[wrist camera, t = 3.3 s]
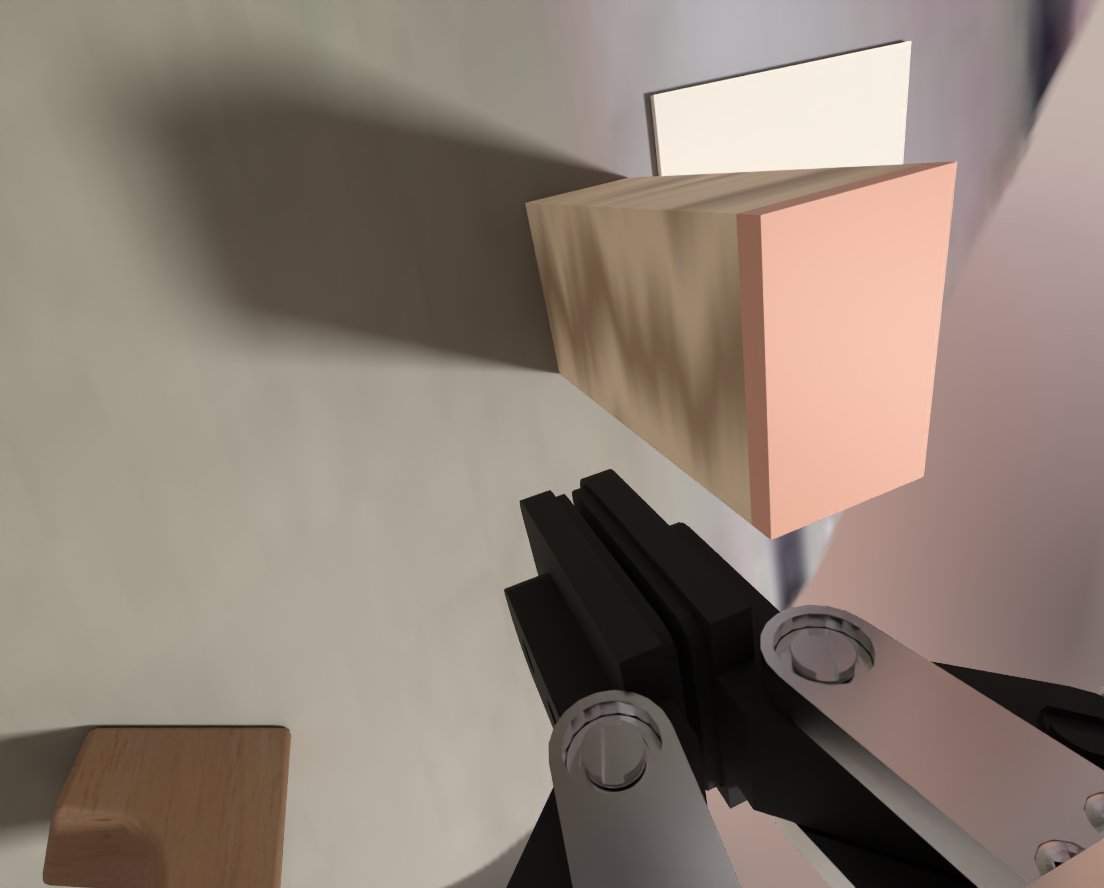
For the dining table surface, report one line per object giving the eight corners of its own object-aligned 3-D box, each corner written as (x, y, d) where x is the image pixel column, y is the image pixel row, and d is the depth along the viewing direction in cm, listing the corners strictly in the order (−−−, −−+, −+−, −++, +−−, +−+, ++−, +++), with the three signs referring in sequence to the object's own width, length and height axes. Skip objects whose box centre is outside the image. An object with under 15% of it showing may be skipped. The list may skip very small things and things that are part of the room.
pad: (650, 96, 25) (653, 94, 25) (906, 42, 29) (911, 40, 28) (680, 390, 32) (683, 392, 31) (888, 320, 35) (892, 321, 35)
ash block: (525, 202, 25) (760, 215, 12) (628, 177, 27) (957, 161, 13) (559, 373, 29) (771, 539, 15) (649, 345, 30) (923, 476, 16)
